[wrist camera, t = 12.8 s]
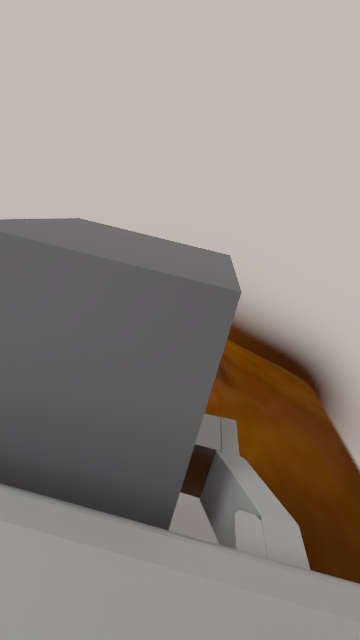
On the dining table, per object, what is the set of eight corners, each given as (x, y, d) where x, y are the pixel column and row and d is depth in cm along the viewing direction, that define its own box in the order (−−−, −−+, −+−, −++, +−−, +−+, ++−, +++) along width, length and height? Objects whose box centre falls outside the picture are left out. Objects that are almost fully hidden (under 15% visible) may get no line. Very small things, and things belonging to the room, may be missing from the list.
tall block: (-35, 627, 9) (-47, 220, 5) (50, 488, 14) (79, 218, 10) (124, 674, 9) (241, 291, 5) (156, 518, 14) (229, 255, 10)
